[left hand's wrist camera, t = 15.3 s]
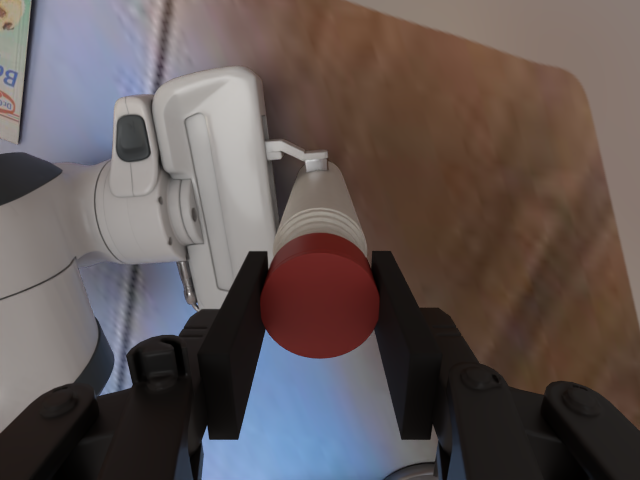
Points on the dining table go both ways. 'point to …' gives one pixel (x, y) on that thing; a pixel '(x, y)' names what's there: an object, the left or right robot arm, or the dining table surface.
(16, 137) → the baking ingredient package
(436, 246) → the dining table surface
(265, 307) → the cap
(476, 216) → the dining table surface
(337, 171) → the bottle
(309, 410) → the dining table surface
